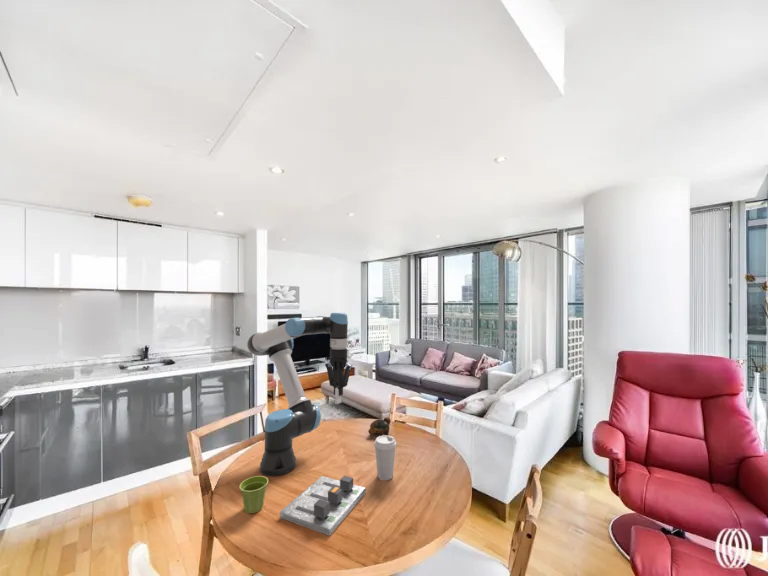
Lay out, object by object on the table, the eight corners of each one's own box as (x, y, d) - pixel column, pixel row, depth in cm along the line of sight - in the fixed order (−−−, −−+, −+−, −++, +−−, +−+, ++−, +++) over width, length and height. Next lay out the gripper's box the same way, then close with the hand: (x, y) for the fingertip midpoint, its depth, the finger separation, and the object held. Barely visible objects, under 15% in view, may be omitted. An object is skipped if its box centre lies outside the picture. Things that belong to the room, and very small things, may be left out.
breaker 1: (313, 515, 103) (313, 504, 103) (319, 510, 105) (319, 499, 106) (323, 518, 101) (324, 507, 101) (329, 513, 104) (329, 502, 104)
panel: (280, 517, 105) (280, 511, 105) (322, 481, 127) (322, 475, 127) (329, 535, 97) (329, 528, 97) (365, 493, 119) (365, 487, 119)
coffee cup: (394, 483, 125) (394, 445, 126) (371, 481, 127) (371, 443, 128) (398, 471, 135) (398, 435, 135) (376, 468, 136) (376, 433, 137)
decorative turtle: (395, 432, 175) (395, 418, 175) (376, 442, 164) (376, 427, 164) (383, 426, 182) (383, 413, 182) (364, 436, 171) (364, 422, 171)
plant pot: (250, 521, 104) (250, 494, 104) (233, 511, 109) (233, 485, 109) (273, 505, 112) (273, 480, 112) (256, 497, 117) (257, 473, 117)
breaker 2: (327, 501, 110) (327, 490, 110) (332, 496, 113) (332, 485, 113) (337, 504, 108) (337, 493, 108) (342, 499, 111) (342, 488, 111)
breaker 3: (339, 489, 117) (340, 479, 117) (344, 484, 120) (344, 475, 120) (349, 491, 116) (349, 482, 116) (353, 487, 118) (353, 477, 119)
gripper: (321, 348, 136) (320, 403, 135) (346, 350, 130) (346, 407, 129) (331, 346, 143) (330, 398, 141) (355, 347, 137) (355, 402, 136)
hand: (338, 402), depth 135 cm, fingers closed
